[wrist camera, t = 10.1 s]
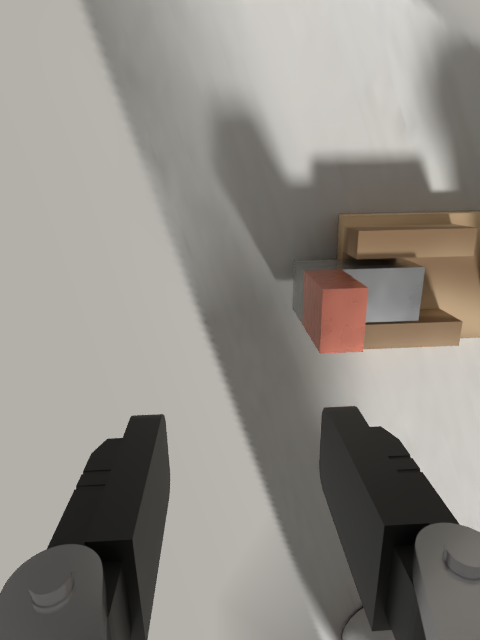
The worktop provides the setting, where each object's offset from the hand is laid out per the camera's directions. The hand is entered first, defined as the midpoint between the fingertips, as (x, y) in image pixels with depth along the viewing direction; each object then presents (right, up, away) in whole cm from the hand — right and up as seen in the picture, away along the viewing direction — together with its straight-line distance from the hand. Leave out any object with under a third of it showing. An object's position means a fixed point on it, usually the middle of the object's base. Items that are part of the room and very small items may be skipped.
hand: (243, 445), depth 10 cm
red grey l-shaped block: (+6, +5, +15) cm, 17 cm away
